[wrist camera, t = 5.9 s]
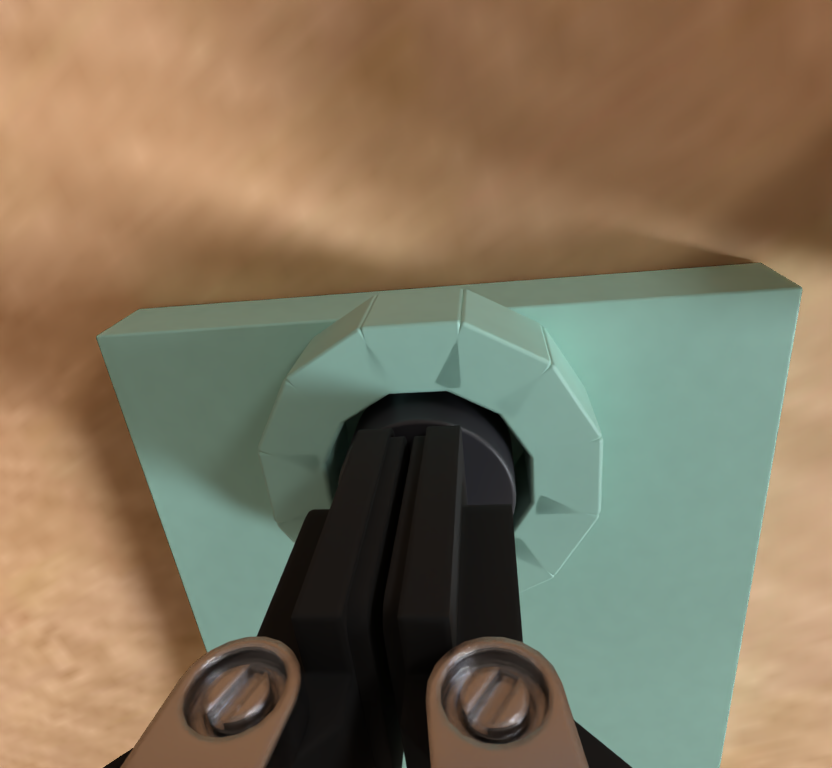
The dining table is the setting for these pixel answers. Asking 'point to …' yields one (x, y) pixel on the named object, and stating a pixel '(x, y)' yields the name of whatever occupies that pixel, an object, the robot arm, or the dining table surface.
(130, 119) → the dining table surface
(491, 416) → the button
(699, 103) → the dining table surface
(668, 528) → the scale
